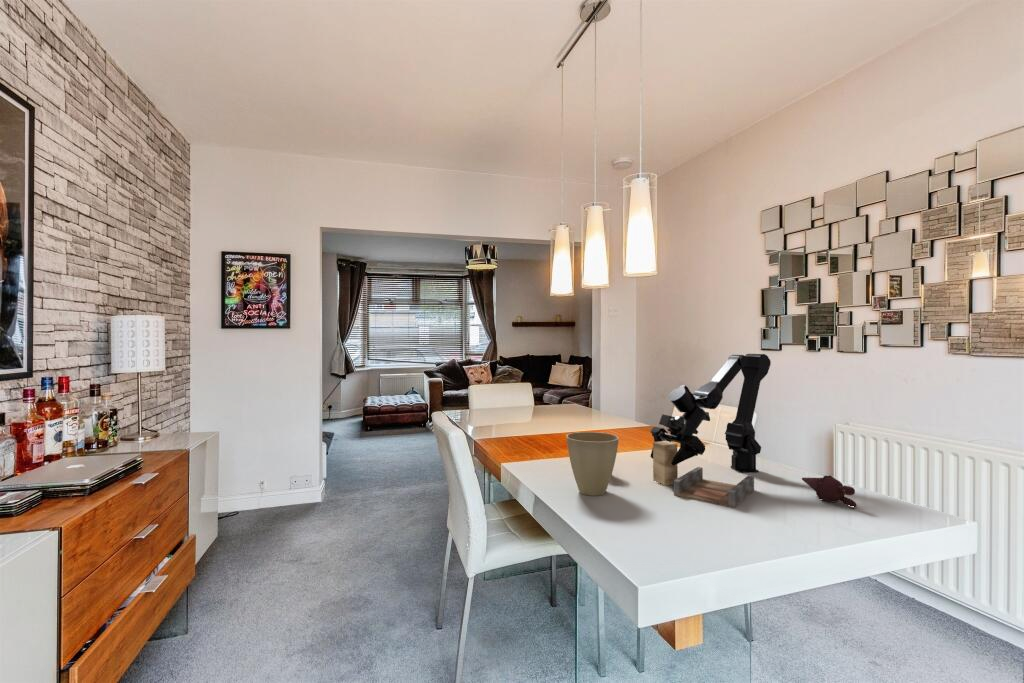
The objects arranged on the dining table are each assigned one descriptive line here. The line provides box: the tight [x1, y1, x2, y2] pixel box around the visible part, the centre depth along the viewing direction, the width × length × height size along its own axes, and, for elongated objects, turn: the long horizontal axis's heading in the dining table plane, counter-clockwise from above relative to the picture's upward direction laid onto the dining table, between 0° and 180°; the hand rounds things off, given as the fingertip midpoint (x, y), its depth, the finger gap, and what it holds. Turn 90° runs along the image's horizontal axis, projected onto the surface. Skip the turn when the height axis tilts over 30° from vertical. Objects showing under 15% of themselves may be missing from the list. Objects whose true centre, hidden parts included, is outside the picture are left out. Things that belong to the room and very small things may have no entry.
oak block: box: [652, 441, 679, 486], centre depth 144 cm, size 5×5×12 cm
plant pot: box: [565, 431, 619, 496], centre depth 135 cm, size 15×15×16 cm
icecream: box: [801, 475, 858, 508], centre depth 127 cm, size 7×7×15 cm
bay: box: [673, 466, 755, 509], centre depth 134 cm, size 19×16×4 cm
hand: (661, 461), depth 143 cm, fingers open, 9 cm apart
